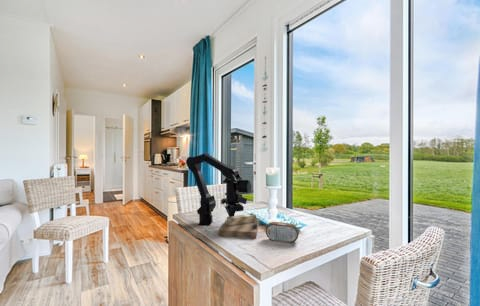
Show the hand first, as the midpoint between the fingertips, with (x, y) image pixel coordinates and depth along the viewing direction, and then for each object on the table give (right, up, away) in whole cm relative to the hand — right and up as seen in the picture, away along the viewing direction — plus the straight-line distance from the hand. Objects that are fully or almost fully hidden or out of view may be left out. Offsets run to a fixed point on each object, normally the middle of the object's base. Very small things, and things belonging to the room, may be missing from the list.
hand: (231, 220), depth 126 cm
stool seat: (+5, -4, -3) cm, 7 cm away
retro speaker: (+24, -5, -18) cm, 30 cm away
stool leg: (+5, -1, -1) cm, 6 cm away
